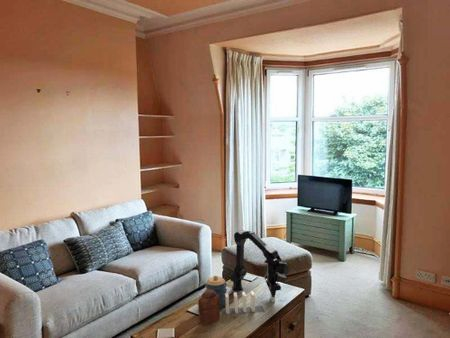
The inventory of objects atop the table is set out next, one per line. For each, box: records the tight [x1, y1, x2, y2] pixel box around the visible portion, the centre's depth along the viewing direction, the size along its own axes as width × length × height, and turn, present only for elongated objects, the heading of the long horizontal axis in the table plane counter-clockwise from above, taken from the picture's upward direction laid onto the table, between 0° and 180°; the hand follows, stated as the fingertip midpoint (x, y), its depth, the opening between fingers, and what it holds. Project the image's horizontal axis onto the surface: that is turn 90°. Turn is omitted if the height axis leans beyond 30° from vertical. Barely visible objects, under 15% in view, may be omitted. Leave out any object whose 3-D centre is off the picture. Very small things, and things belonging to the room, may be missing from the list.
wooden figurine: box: [197, 289, 221, 326], centre depth 189 cm, size 12×6×18 cm, turn 125°
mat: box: [221, 305, 266, 316], centre depth 201 cm, size 7×24×1 cm, turn 96°
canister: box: [204, 275, 228, 308], centre depth 210 cm, size 13×13×18 cm
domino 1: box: [224, 292, 230, 314], centre depth 199 cm, size 5×2×10 cm, turn 6°
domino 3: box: [241, 291, 247, 312], centre depth 200 cm, size 5×2×10 cm, turn 6°
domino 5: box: [269, 291, 276, 303], centre depth 211 cm, size 5×2×10 cm, turn 6°
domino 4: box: [249, 290, 256, 312], centre depth 201 cm, size 5×2×10 cm, turn 6°
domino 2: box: [233, 291, 239, 313], centre depth 200 cm, size 5×2×10 cm, turn 6°
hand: (272, 295), depth 212 cm, fingers closed on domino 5, 5 cm apart
